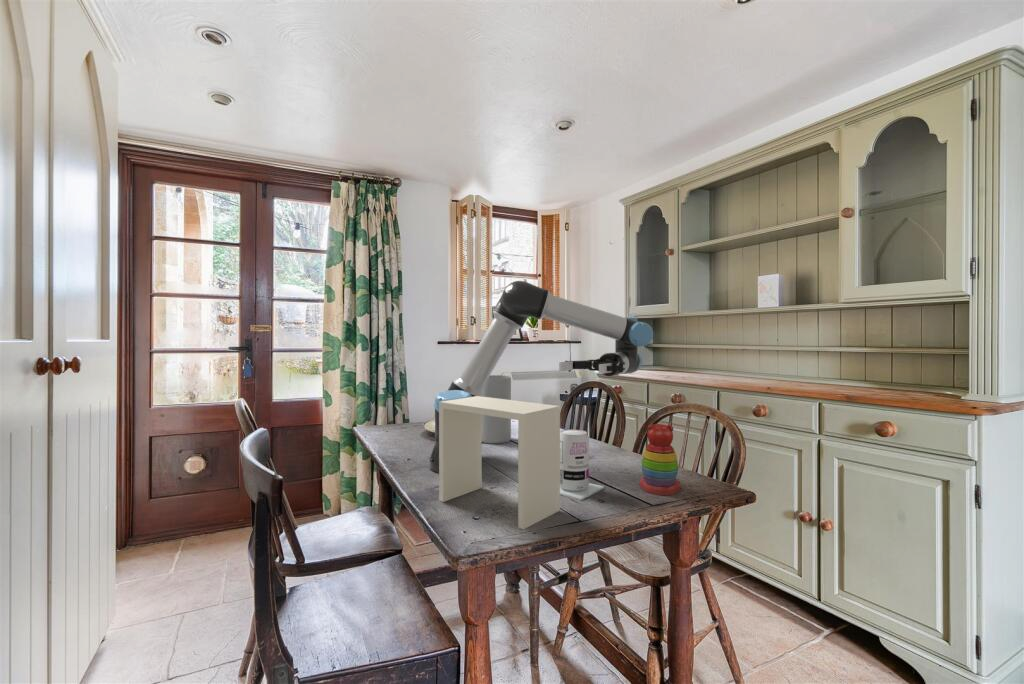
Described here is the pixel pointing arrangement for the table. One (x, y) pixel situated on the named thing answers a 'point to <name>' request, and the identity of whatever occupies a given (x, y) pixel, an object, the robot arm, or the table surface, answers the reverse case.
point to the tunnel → (534, 452)
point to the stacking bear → (660, 462)
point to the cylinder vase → (494, 427)
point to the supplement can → (574, 460)
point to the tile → (582, 492)
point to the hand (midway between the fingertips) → (579, 367)
